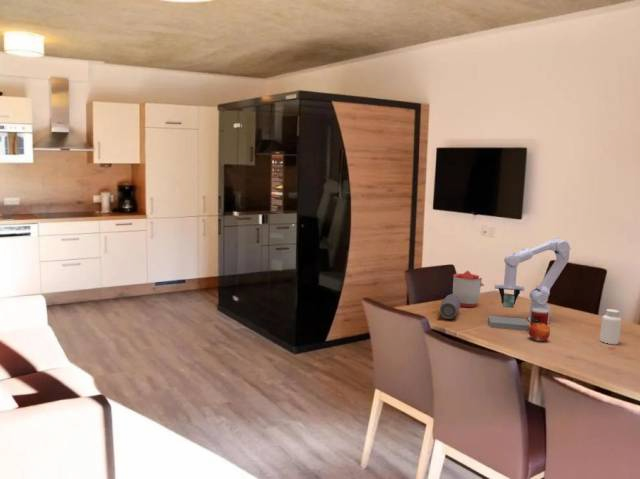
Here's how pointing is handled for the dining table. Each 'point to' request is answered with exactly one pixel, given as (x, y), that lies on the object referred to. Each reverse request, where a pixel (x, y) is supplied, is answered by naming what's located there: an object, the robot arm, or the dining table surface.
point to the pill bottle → (610, 327)
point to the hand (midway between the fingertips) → (508, 303)
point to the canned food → (539, 316)
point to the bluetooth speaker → (450, 306)
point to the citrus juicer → (467, 288)
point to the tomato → (539, 331)
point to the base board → (508, 323)
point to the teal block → (508, 300)
